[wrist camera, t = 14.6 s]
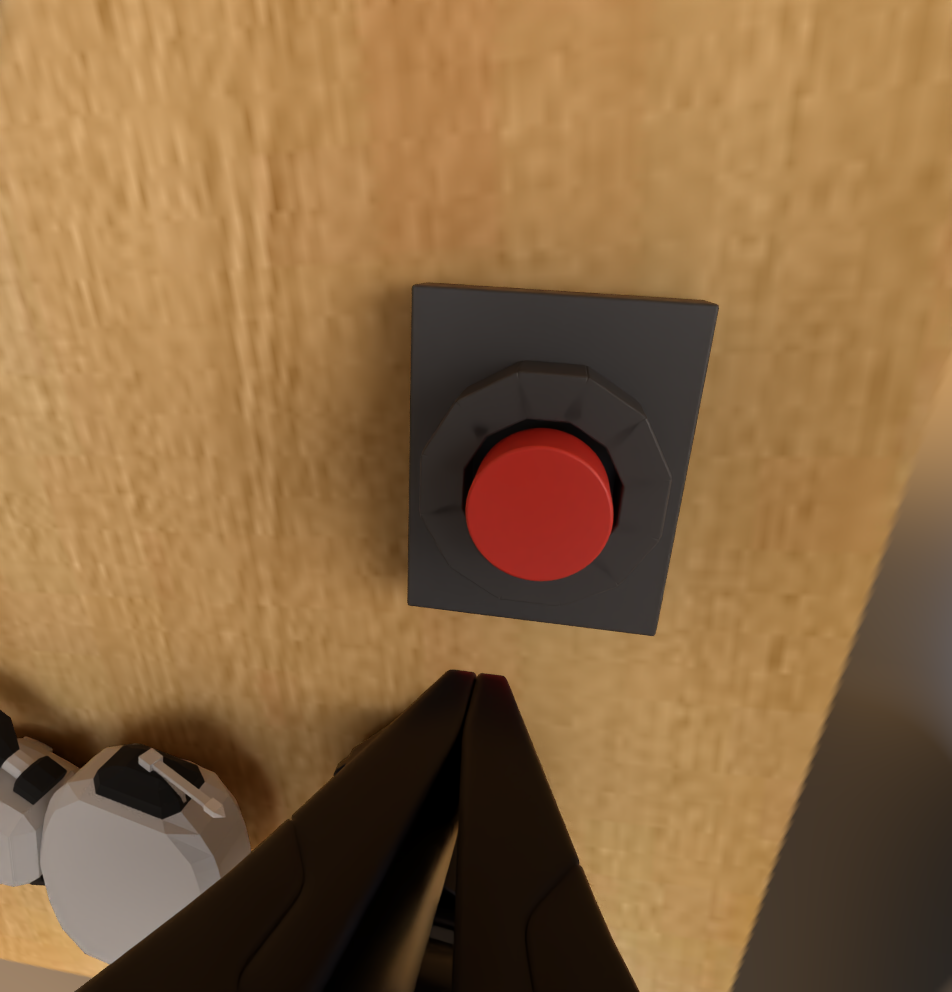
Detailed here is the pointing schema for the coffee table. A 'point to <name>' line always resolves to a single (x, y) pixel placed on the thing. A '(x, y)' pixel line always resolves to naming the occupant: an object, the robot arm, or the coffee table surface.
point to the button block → (556, 405)
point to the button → (540, 505)
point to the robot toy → (113, 836)
